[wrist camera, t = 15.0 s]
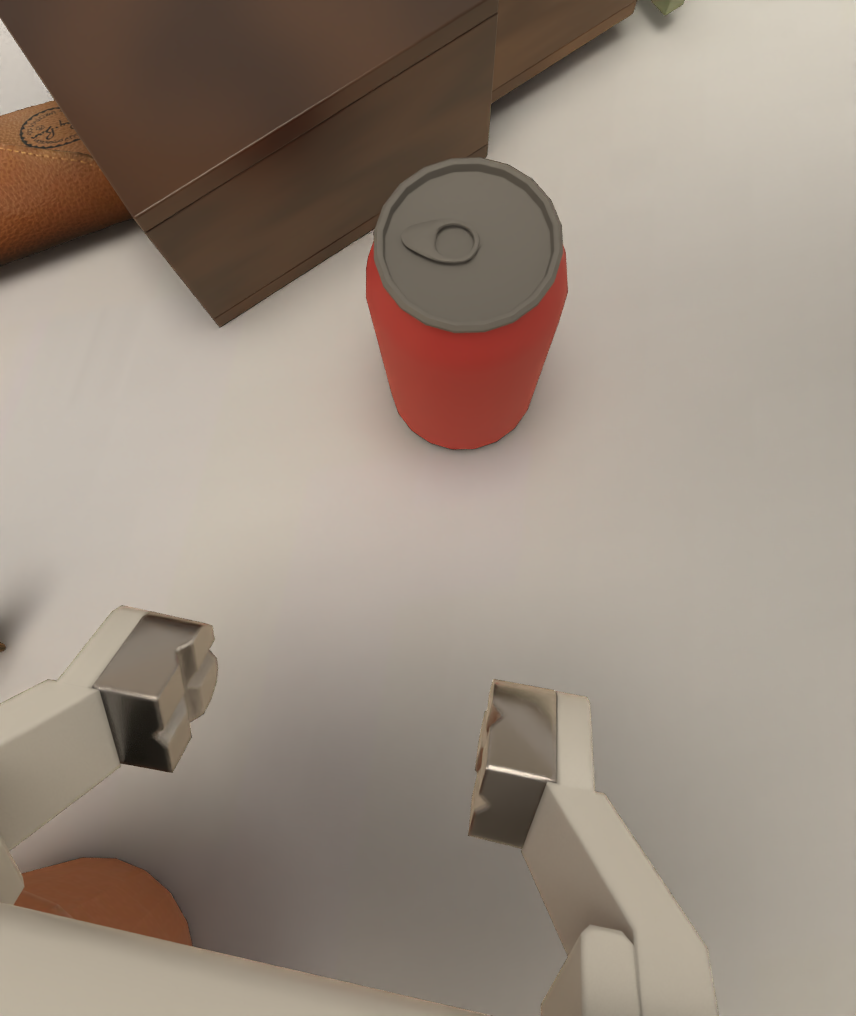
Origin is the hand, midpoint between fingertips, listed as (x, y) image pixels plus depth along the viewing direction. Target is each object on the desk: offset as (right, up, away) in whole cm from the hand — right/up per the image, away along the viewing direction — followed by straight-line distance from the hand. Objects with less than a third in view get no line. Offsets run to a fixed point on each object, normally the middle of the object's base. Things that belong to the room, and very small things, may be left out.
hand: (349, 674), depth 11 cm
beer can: (+3, +8, +20) cm, 22 cm away
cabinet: (-6, +21, +23) cm, 32 cm away
